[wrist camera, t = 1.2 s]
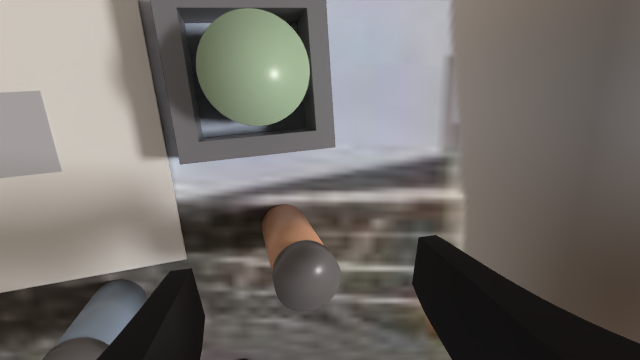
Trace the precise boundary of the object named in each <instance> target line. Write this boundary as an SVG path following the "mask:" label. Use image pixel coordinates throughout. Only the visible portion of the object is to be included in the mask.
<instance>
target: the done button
mask: <svg viewBox="0 0 640 360" xmlns="http://www.w3.org/2000/svg"><path fill="white" fill-rule="evenodd" d="M196 72H197V76H198V81H199V83H200V86H201V88H202V90H203V92H204V94H205V96H206V97H207V99H208V100H209V102H210V103H211V104H212V105H213V106H214V107H215V108H216V109H217V110H218V111H219V112H220V113H221V114H223V115H224V116H226V117H227V118H229V119H231V120H233V121H236V122H238V123H241V124H245V125H251V126H263V125H269V124H273V123H276V122H278V121H280V120H282V119H284V118H286V117H287V116H289V115H290V114H291V113H292V112H293V111H294V110H295V109H296V108H297V107H298V106H299V104H300V103H301V101H302V100H303V98H304V96H305V93H306V91H307V88H308V83H309V76H310V66H309V59H308V56H307V52H306V49H305V47H304V44H303V43H302V41H301V39H300V37H299V36H298V34H297V33H296V32H295V31H294V29H293V28H292V27H291V26H290V25H289V24H288V23H286V22H285V21H284V20H282V19H281V18H280V17H278V16H276V15H274V14H272V13H270V12H267V11H264V10H260V9H253V8H244V9H237V10H233V11H230V12H227V13H225V14H223V15H222V16H220V17H218V18H217V19H216V20H215V21H213V22H212V23H211V24H210V26H209V27H208V28H207V29H206V31H205V32H204V34H203V36H202V38H201V40H200V42H199V45H198V48H197V54H196Z"/></svg>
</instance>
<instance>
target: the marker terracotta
mask: <svg viewBox="0 0 640 360" xmlns="http://www.w3.org/2000/svg"><path fill="white" fill-rule="evenodd" d="M262 233H263V237H264V241H265V245H266V249H267V253H268V257H269V261H270V265H271V269H272V277H273V282H274V286H275V290H276V294H277V296H278V298H279V300H280V301H281V302H282V303H283V304H284V305H285V306H286V307H288V308H290V309H292V310H295V311H311V310H315V309H317V308H320V307H321V306H323V305H325V304H326V303H327V302H328V301H330V300H331V299H332V297H333V296H334V295H335V293H336V292H337V290H338V287H339V284H340V279H341V273H340V268H339V265H338V263H337V261H336V260H335V259H334V257H333V256H332V254H331V253H330V251H329V250H328V249H327V248H326V247H325V246H324V245H323V243H322V242H321V240H320V239H319V237H318V236H317V234H316V233H315V231H314V230H313V229H312V227H311V226H310V224H309V223H308V221H307V220H306V218H305V217H304V216H303V214H302V213H301V211H300V210H299V209H297V208H296V207H294V206H291V205H285V204H284V205H278V206H275V207H273V208H272V209H270V210H269V211H268V212H267V213H266V215H265V216H264V218H263V221H262Z"/></svg>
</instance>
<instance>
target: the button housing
mask: <svg viewBox="0 0 640 360" xmlns="http://www.w3.org/2000/svg"><path fill="white" fill-rule="evenodd" d="M150 2H151V7H152V13H153V18H154V24H155V29H156V35H157V40H158V46H159V51H160V57H161V62H162V68H163V73H164V79H165V84H166V90H167V95H168V101H169V106H170V112H171V117H172V123H173V128H174V134H175V139H176V145H177V150H178V155H179V161H180V164H189V163H198V162H207V161H215V160H224V159H233V158H242V157H251V156H260V155H269V154H278V153H287V152H296V151H305V150H314V149H323V148H332V147H335V134H334V118H333V102H332V87H331V71H330V56H329V40H328V24H327V9H326V0H150ZM244 8H253V9H260V10H264V11H267V12H270V13H272V14H274V15H276V16H278V17H280V18H281V19H282V20H284V21H285V22H297V26H298V36H299V37H300V39H301V41H302V43H303V44H304V47H305V49H306V52H307V56H308V59H309V66H310V76H309V83H308V88H307V91H306V93H305V96H304V109H305V121H306V128H304V129H294V130H283V131H273V132H262V133H251V134H241V135H230V136H219V137H209V138H203V135H202V129H201V123H200V116H199V110H198V104H197V98H196V92H195V86H194V79H193V73H192V67H191V61H190V55H189V48H188V42H187V36H186V30H185V24H184V23H212V22H213V21H215V20H216V19H217V18H218V17H220V16H222V15H223V14H225V13H227V12H230V11H233V10H237V9H244Z"/></svg>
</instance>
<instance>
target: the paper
mask: <svg viewBox="0 0 640 360" xmlns="http://www.w3.org/2000/svg"><path fill="white" fill-rule="evenodd" d="M185 259H187V256H186V251H185V245H184V240H183V235H182V230H181V224H180V219H179V214H178V209H177V203H176V198H175V193H174V188H173V182H172V177H171V172H170V167H169V161H168V156H167V151H166V146H165V140H164V135H163V130H162V125H161V119H160V114H159V109H158V104H157V98H156V93H155V88H154V83H153V77H152V72H151V67H150V61H149V56H148V51H147V46H146V40H145V35H144V30H143V25H142V19H141V14H140V9H139V4H138V1H137V0H0V293H2V292H8V291H13V290H19V289H24V288H30V287H35V286H41V285H46V284H52V283H58V282H63V281H69V280H74V279H80V278H85V277H91V276H96V275H102V274H107V273H113V272H118V271H124V270H130V269H135V268H141V267H146V266H152V265H157V264H163V263H168V262H174V261H179V260H185Z"/></svg>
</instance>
